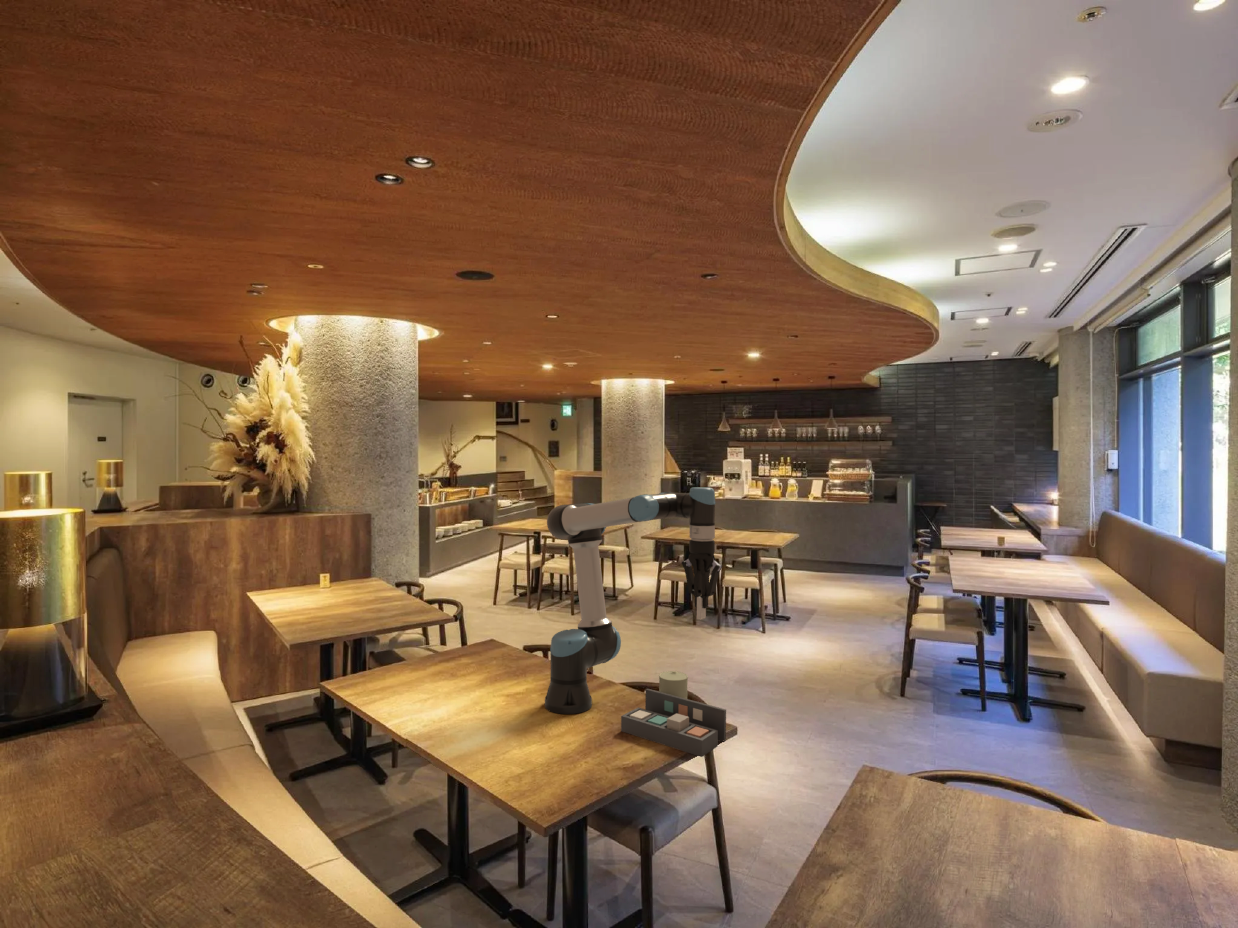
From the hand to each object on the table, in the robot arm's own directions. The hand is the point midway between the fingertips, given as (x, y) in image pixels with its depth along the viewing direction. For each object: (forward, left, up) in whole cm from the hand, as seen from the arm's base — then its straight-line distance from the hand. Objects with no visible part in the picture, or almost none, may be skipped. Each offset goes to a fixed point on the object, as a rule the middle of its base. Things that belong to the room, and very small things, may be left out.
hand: (701, 618), depth 204 cm
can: (-13, +5, -33) cm, 36 cm away
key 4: (+7, -13, -32) cm, 35 cm away
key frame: (-3, -13, -33) cm, 35 cm away
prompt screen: (-3, -4, -33) cm, 33 cm away
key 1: (-13, -13, -32) cm, 37 cm away
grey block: (0, -13, -30) cm, 32 cm away
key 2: (-6, -13, -32) cm, 35 cm away
